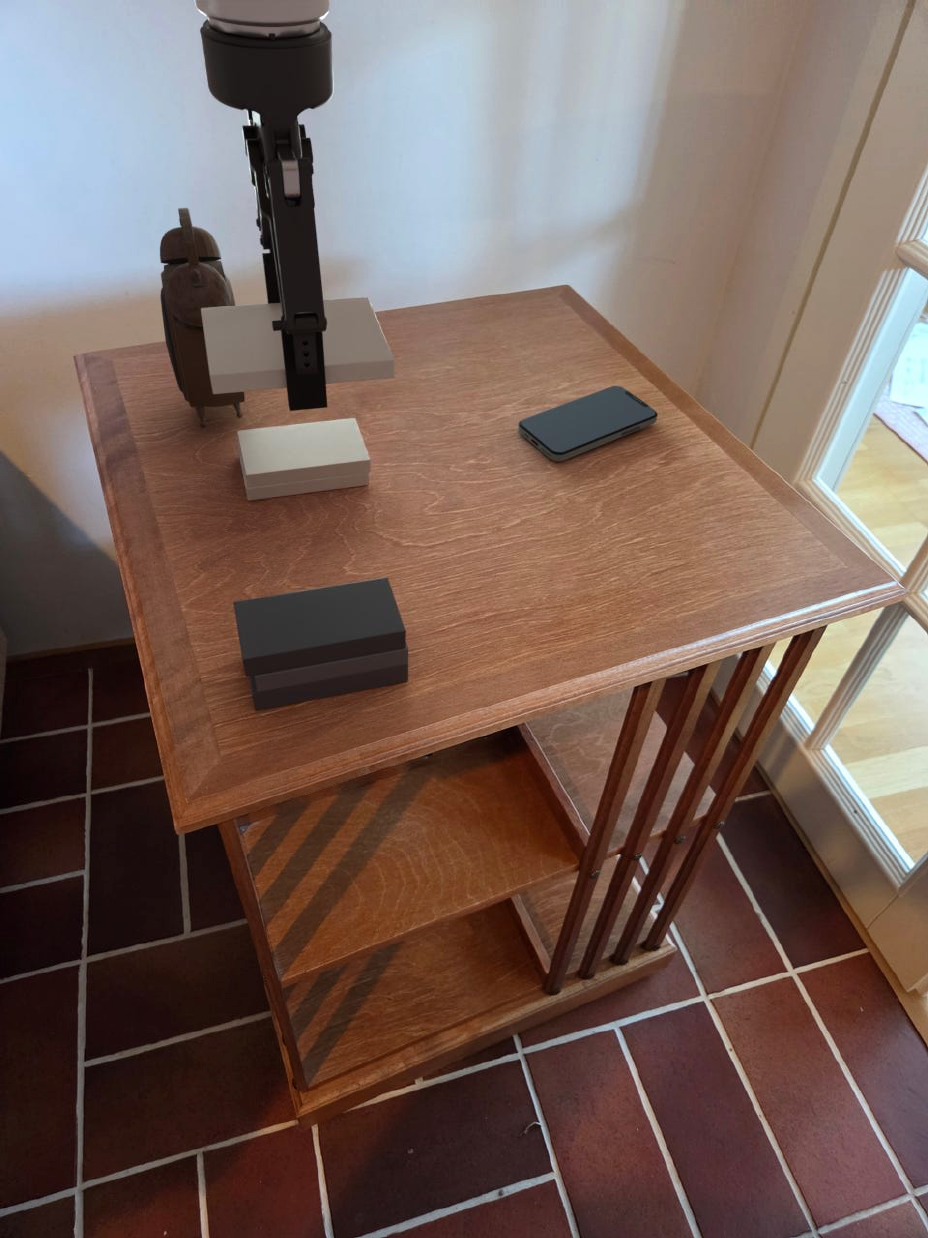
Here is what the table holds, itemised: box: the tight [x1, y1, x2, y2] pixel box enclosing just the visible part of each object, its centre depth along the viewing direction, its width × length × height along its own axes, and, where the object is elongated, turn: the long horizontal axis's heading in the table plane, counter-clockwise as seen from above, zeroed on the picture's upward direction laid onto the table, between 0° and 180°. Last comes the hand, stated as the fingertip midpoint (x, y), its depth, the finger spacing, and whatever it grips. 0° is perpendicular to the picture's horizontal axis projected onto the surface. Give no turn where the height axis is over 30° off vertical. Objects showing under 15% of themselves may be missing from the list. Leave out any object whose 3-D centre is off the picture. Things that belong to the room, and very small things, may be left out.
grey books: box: [233, 576, 409, 712], centre depth 65 cm, size 12×6×6 cm, turn 107°
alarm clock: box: [159, 207, 246, 429], centre depth 84 cm, size 14×7×20 cm, turn 17°
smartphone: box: [517, 385, 659, 462], centre depth 92 cm, size 8×2×15 cm
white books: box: [236, 417, 372, 501], centre depth 83 cm, size 12×8×3 cm, turn 107°
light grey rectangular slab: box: [201, 296, 396, 394], centre depth 62 cm, size 13×10×2 cm
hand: (297, 368), depth 64 cm, fingers closed on light grey rectangular slab, 10 cm apart
